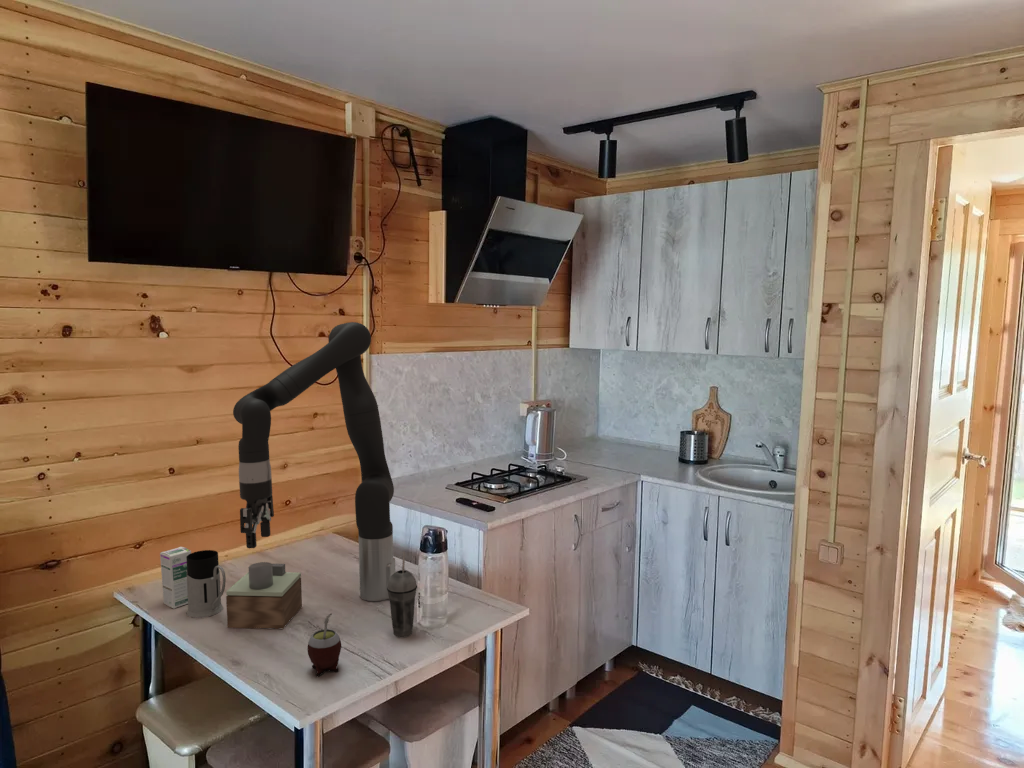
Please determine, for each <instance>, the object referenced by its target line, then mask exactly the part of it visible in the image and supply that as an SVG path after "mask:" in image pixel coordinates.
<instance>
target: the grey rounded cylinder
mask: <svg viewBox="0 0 1024 768" xmlns="http://www.w3.org/2000/svg"><path fill="white" fill-rule="evenodd" d="M272 564H273V563H271V562H268V561H264V562H263V561H260V562H255V563H252V564H250V565H249V566H248V572H249V588H250V589H253V590H261V589H266V588H269V587H271V586H272V585H273V572H272Z"/></svg>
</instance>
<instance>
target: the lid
mask: <svg viewBox="0 0 1024 768" xmlns="http://www.w3.org/2000/svg"><path fill="white" fill-rule="evenodd" d="M271 564H272V572H273V585H272V586H271V587H269V588H266V589H261V590H253V589H250V588H249V571H248V572H247V573H246V574H245V575H243V576H242V577H241V578H239V580H238V581H236V582H235V583H234V584H233V585H232V586H230V587H229V588H228V589H227V590H226V591H225V594H226V596H227V595H238V596H283V595H284V594H285V593H286V592H287V591H288V590H289V589H290V587H291V586H292V585H293V584H294V583H295V582H296V581H297V580H298V579H299V578H300V577H301V578H302V572H301V571H300V572H294V571H293V572H290V571H286V563H271Z"/></svg>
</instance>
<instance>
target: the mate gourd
mask: <svg viewBox="0 0 1024 768" xmlns="http://www.w3.org/2000/svg"><path fill="white" fill-rule="evenodd" d="M332 615H333V613H332V612H331V613H329V614H327V616H326V617H325V618H324V627H323V629H319V630H317V631H315V632H313V633H312V634H311V636H310V637H309V639H308V642H307V643H308V644H307V649H306V650H307V655H308V658H309V660H310V662H311V663H312V665H311V669H314V670H316V673H315V677H318V678H319V677H320V676H322V675H323V674H324V673H325V672H330V673H331V672H332V673H338V672H339V668H338V665H339V659H340V654H341V650H342V641H341V637H340V635H339V633H338V632H337V631H335V630H333V629H329V628H328V623H329V622H330V621H329V618H330V617H331V616H332Z"/></svg>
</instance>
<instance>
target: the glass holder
mask: <svg viewBox="0 0 1024 768" xmlns="http://www.w3.org/2000/svg"><path fill="white" fill-rule="evenodd" d="M186 558H187V592H188V604H187V607H188V608H187V610H186V616H187V617H189V618H194V619H195V618H196V619H199V618H201V619H202V618H203V619H204V618H208V617H212V616H214V615H217V614H219V613H221V612H223V610H224V606H223V604H222V596H223V595H224V593H225V589H226V583H227V582H226V572H225V569H224V567H223V566H222V565H220V564H219V552H218V551H216V550H213V549H209V550H208V549H203V550H198V551H194V552H191V554H189V555H188V556H187V557H186ZM220 572H221V573H220ZM221 574H222V584H221ZM221 585H222V586H221Z"/></svg>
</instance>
